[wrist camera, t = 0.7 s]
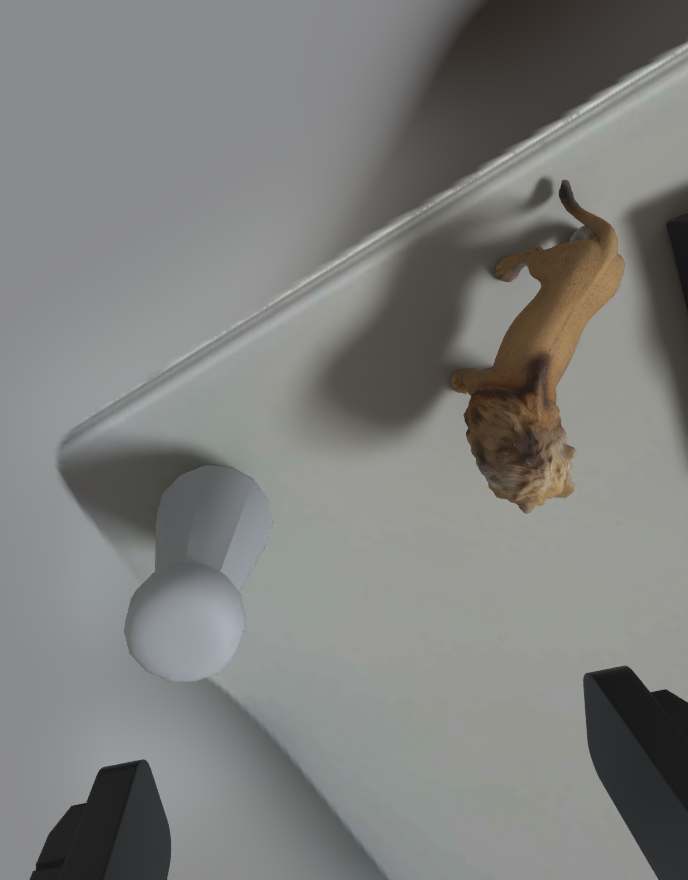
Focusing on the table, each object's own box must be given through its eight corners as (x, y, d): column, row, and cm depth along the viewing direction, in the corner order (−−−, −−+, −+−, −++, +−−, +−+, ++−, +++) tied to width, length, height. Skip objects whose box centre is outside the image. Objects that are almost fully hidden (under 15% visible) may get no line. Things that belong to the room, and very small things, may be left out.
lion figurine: (517, 467, 36) (588, 536, 27) (426, 448, 35) (470, 512, 26) (607, 194, 32) (723, 172, 23) (507, 166, 31) (588, 133, 22)
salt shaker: (144, 489, 34) (58, 624, 22) (231, 431, 34) (194, 536, 21) (209, 569, 36) (165, 738, 23) (293, 515, 35) (294, 658, 23)
